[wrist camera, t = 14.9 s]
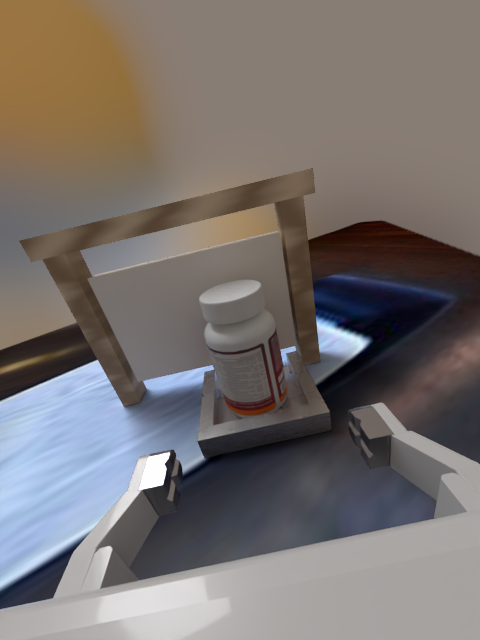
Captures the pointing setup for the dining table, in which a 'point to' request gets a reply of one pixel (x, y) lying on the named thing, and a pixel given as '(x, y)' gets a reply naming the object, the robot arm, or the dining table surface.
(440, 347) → the dining table surface
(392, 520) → the dining table surface
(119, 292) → the door
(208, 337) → the pill bottle
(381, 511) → the dining table surface
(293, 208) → the door frame
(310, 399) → the keeper
